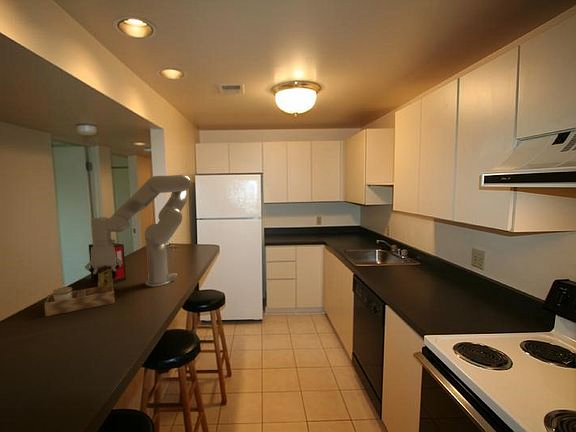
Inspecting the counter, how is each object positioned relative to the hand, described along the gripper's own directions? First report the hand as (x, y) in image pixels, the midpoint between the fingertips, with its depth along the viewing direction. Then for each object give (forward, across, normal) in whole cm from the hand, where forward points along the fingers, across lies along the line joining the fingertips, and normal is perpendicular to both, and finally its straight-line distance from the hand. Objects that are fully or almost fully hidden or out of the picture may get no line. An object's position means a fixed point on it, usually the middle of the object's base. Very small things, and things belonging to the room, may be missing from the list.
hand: (105, 279), depth 142 cm
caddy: (+7, +9, +12) cm, 17 cm away
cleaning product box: (+7, -2, -22) cm, 23 cm away
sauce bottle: (+7, 0, 0) cm, 7 cm away
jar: (+6, +16, +12) cm, 21 cm away
